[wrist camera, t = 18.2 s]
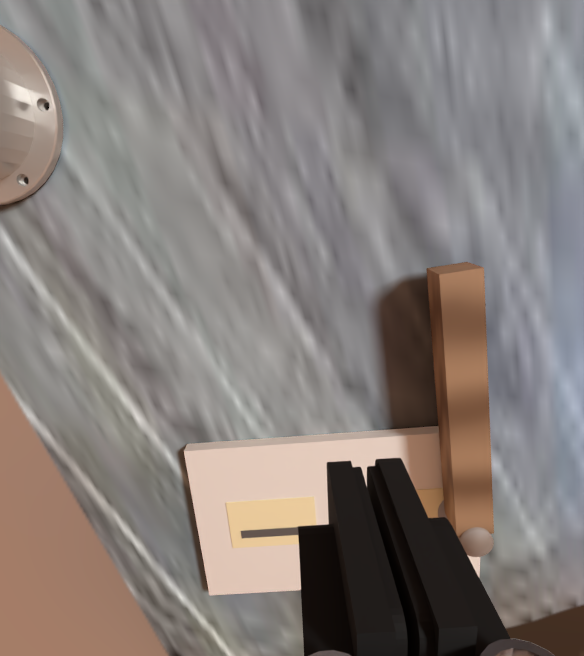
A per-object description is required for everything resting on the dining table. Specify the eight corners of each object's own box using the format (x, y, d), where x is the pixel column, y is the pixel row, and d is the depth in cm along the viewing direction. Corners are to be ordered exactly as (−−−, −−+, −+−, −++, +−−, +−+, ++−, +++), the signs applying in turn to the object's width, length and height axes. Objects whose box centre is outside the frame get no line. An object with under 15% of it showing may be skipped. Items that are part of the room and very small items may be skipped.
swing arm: (479, 525, 38) (496, 554, 35) (445, 529, 39) (459, 559, 35) (466, 261, 32) (486, 268, 29) (426, 268, 32) (441, 275, 29)
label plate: (211, 584, 43) (208, 597, 42) (187, 443, 39) (182, 453, 37) (474, 569, 42) (480, 582, 41) (479, 423, 38) (486, 431, 36)
